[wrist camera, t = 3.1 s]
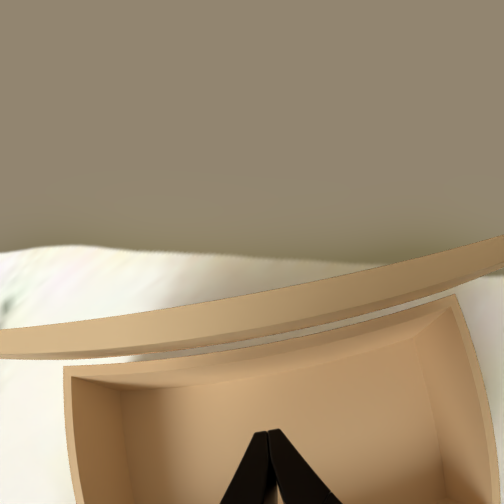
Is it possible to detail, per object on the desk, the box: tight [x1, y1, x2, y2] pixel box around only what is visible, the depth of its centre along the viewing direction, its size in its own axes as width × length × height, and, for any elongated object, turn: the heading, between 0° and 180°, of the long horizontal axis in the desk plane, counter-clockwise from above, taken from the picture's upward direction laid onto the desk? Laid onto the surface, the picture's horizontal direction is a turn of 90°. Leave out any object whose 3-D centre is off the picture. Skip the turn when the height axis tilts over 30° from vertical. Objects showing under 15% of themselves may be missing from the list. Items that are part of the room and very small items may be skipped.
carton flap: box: [0, 235, 504, 360], centre depth 9 cm, size 10×20×1 cm
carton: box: [63, 294, 500, 504], centre depth 13 cm, size 15×22×6 cm
